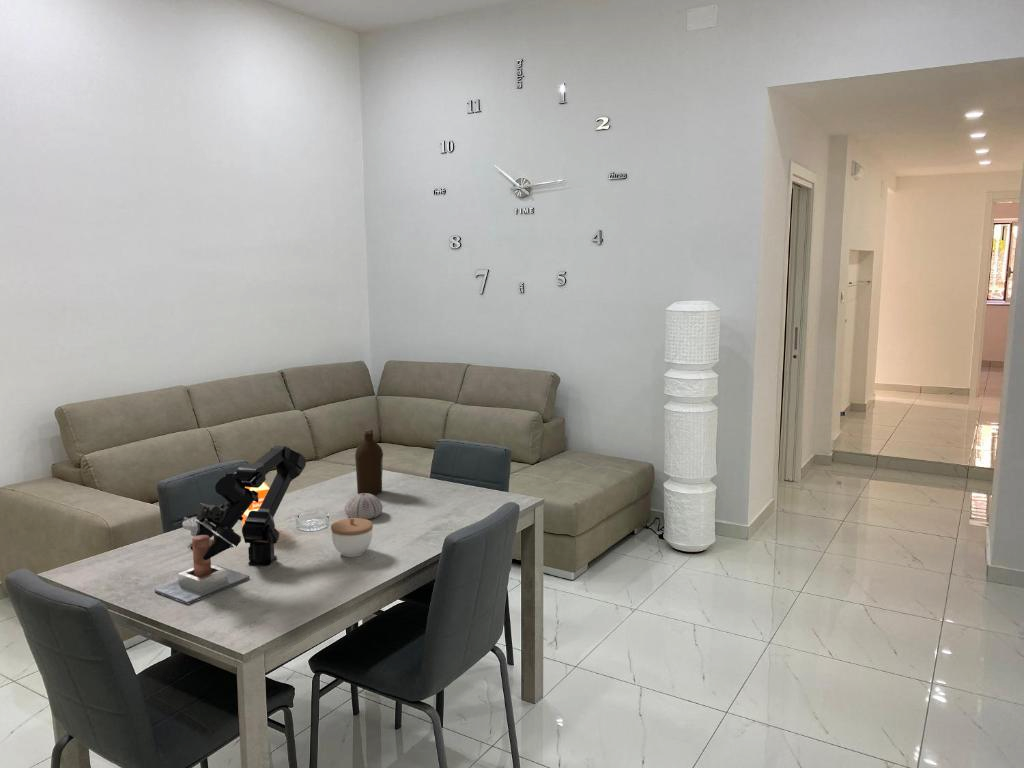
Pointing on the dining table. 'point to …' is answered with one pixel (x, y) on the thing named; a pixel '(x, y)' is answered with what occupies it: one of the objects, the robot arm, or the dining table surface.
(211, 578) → the dock
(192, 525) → the showerhead
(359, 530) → the lidded bowl
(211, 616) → the dining table surface
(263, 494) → the orange juice
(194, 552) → the peg
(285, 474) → the robot arm
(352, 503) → the sea urchin shell
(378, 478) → the olive oil
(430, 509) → the dining table surface
